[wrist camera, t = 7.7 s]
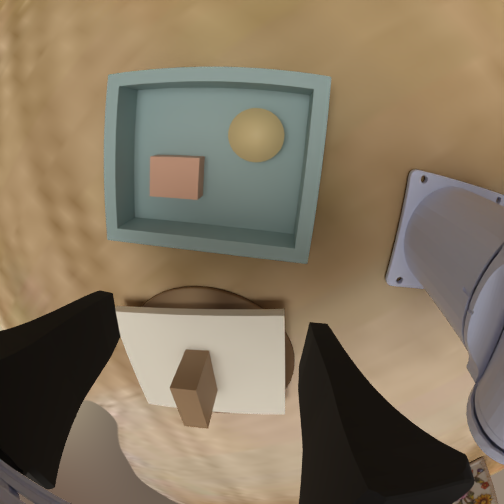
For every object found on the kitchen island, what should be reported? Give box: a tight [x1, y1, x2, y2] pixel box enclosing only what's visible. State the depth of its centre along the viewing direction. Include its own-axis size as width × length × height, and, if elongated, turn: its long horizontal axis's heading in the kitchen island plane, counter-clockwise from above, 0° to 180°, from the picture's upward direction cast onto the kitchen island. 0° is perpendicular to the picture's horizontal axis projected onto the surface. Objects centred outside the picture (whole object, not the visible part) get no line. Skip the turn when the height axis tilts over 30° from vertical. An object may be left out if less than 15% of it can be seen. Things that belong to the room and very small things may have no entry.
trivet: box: [142, 286, 294, 413], centre depth 24 cm, size 14×14×1 cm
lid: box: [115, 306, 285, 428], centre depth 21 cm, size 13×11×6 cm
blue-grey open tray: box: [104, 67, 331, 264], centre depth 16 cm, size 12×10×3 cm
